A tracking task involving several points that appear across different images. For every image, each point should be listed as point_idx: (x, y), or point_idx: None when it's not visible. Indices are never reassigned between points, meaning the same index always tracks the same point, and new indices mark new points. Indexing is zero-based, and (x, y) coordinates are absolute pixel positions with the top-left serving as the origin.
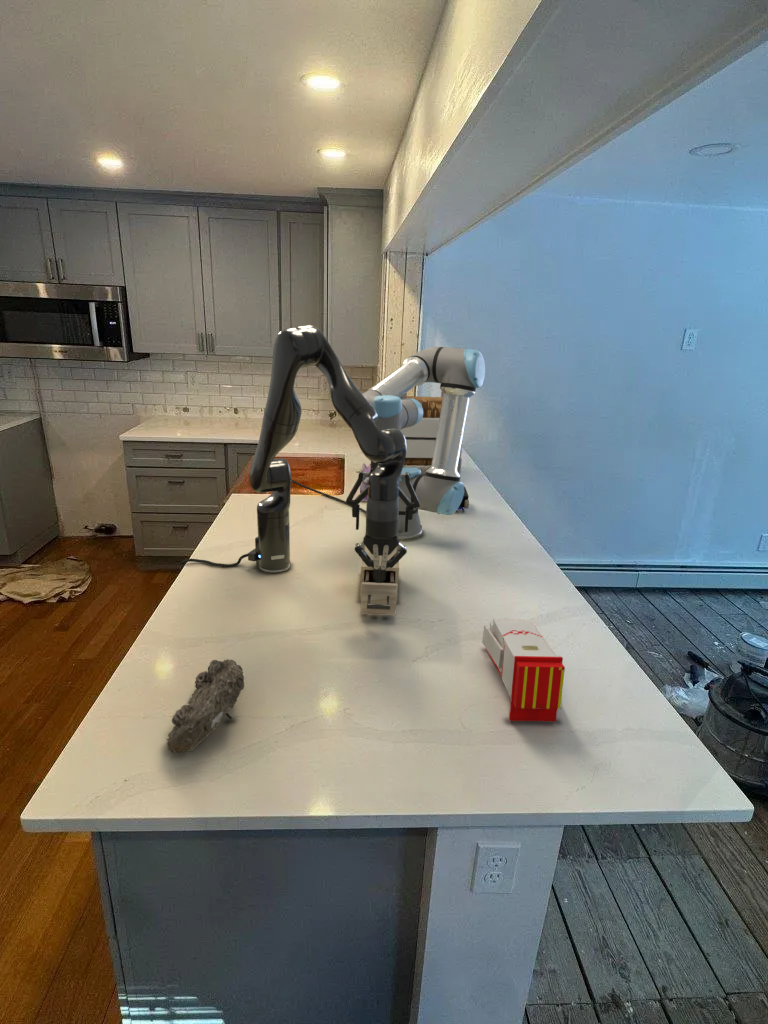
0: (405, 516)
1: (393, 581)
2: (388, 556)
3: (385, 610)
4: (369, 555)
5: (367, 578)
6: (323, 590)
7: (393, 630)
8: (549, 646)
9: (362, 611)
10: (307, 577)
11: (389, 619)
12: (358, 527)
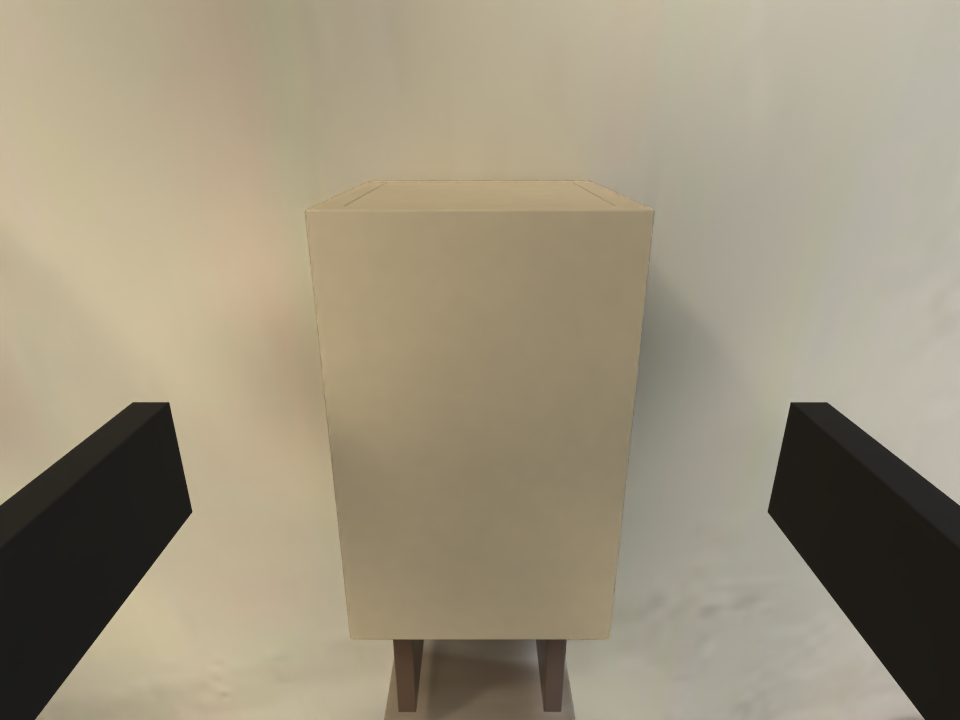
0: (906, 597)
1: (560, 711)
2: (544, 482)
3: None
4: (390, 478)
5: (407, 695)
6: (181, 396)
7: None
8: None
9: None
10: (35, 250)
11: None
12: (176, 530)
